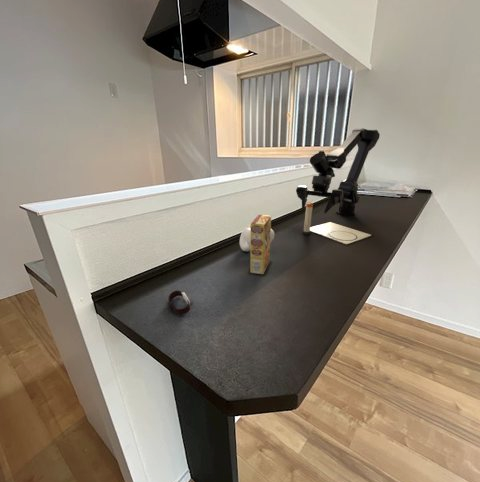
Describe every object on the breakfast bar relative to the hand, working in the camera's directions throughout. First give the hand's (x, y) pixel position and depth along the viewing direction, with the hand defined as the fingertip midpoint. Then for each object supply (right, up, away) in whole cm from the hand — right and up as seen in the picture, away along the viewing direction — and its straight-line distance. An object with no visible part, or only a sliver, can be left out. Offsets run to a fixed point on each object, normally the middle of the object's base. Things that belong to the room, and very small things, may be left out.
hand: (313, 211), depth 108 cm
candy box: (-24, -22, -27) cm, 43 cm away
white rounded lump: (-25, -16, -16) cm, 34 cm away
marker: (-3, -9, -2) cm, 10 cm away
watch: (-44, -30, -45) cm, 70 cm away
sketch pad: (+10, -9, 0) cm, 13 cm away
